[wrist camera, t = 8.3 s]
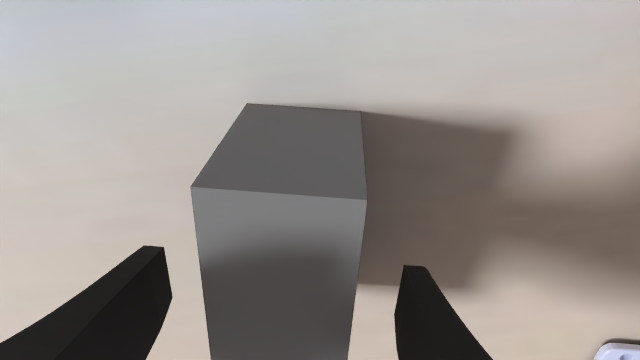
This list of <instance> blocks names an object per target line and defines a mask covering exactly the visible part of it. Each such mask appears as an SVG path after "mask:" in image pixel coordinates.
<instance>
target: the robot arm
mask: <svg viewBox="0 0 640 360" xmlns="http://www.w3.org/2000/svg"><path fill="white" fill-rule="evenodd" d="M171 300H172V292H171V286H170V280H169V274H168V268H167V263H166V257H165V251H164V247H156V246H143V247H141V248H140V249H138V250H137V251H136V252H134V253H133V254H132V255H130V256H129V257H128V258H126V259H125V260H124V261H122V262H121V263H120V264H119V265H117V266H116V267H115V268H113V269H112V270H111V271H109V272H108V273H107V274H105V275H104V276H103V277H101V278H100V279H99V280H97V281H96V282H95V283H93V284H92V285H90V286H89V287H88V288H86V289H85V290H84V291H82V292H81V293H79V294H78V295H76V296H75V297H73V298H72V299H71V300H69V301H68V302H66V303H65V304H63V305H62V306H60V307H59V308H57V309H56V310H54V311H53V312H51V313H50V314H48V315H47V316H45V317H44V318H42V319H41V320H39V321H37V322H36V323H34V324H32V325H31V326H29V327H27V328H26V329H24V330H22V331H21V332H19V333H17V334H16V335H14V336H12V337H10V338H9V339H7V340H5V341H3V342H1V343H0V360H146V358H147V356H148V354H149V352H150V350H151V348H152V346H153V344H154V342H155V340H156V338H157V336H158V334H159V332H160V330H161V328H162V325H163V322H164V320H165V317H166V314H167V312H168V309H169V306H170V303H171ZM394 317H395V333H396V346H397V352H398V358H399V360H493V359H492V358H491V357H490V356H489V354H488V353H487V352H486V351H485V350H484V348H483V347H482V346H481V345H480V344H479V342H478V341H477V340H476V339H475V337H474V336H473V335H472V334H471V332H470V331H469V330H468V328H467V327H466V326H465V324H464V323H463V322H462V320H461V319H460V318H459V316H458V315H457V313H456V312H455V311H454V309H453V308H452V307H451V305H450V304H449V302H448V301H447V299H446V298H445V296H444V295H443V293H442V292H441V290H440V289H439V287H438V286H437V284H436V283H435V281H434V279H433V278H432V276H431V275H430V273H429V271H428V270H427V269H426V268H425V267H422V266H409V265H404V268H403V273H402V278H401V283H400V288H399V293H398V298H397V304H396V309H395V314H394ZM594 360H640V345H635V344H623V343H607V344H605V345H603V346H602V347H601V348H600V349H599V351H598V353H597V354H596V356H595V358H594Z"/></svg>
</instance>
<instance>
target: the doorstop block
mask: <svg viewBox="0 0 640 360" xmlns="http://www.w3.org/2000/svg"><path fill="white" fill-rule="evenodd" d="M191 196H192V204H193V213H194V221H195V229H196V238H197V246H198V255H199V263H200V271H201V280H202V288H203V296H204V305H205V313H206V322H207V330H208V338H209V347H210V355H211V360H347V359H348V351H349V343H350V335H351V327H352V319H353V311H354V303H355V295H356V287H357V279H358V271H359V263H360V255H361V247H362V239H363V231H364V223H365V215H366V207H367V189H366V176H365V163H364V150H363V138H362V125H361V112H360V111H351V110H336V109H321V108H307V107H292V106H277V105H263V104H248V103H247V104H246V106H245V107H244V108H243V110H242V111H241V113H240V114H239V116H238V117H237V119H236V120H235V122H234V123H233V125H232V126H231V128H230V129H229V131H228V132H227V134H226V135H225V137H224V138H223V140H222V141H221V143H220V144H219V145H218V147H217V148H216V150H215V151H214V153H213V154H212V156H211V157H210V159H209V160H208V162H207V163H206V165H205V166H204V168H203V169H202V171H201V172H200V174H199V175H198V177H197V178H196V179H195V181H194V182H193V184H192V185H191Z"/></svg>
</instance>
